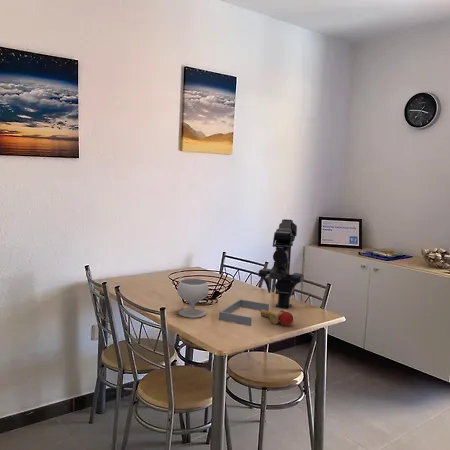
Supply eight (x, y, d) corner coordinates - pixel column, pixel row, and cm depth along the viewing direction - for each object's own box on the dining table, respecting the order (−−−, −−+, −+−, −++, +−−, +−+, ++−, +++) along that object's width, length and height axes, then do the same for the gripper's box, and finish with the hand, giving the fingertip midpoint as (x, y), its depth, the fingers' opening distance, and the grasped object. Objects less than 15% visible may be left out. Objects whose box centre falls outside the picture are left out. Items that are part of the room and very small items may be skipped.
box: (239, 306, 223) (239, 299, 222) (268, 311, 217) (269, 304, 217) (218, 319, 201) (219, 312, 201) (250, 325, 196) (251, 317, 195)
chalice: (207, 309, 215) (208, 278, 213) (207, 319, 201) (209, 286, 199) (177, 308, 214) (178, 277, 212) (175, 318, 200) (176, 284, 199)
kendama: (255, 320, 207) (283, 326, 193) (256, 306, 208) (285, 311, 194) (267, 320, 212) (296, 326, 198) (269, 306, 213) (298, 312, 199)
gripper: (254, 259, 194) (252, 295, 196) (297, 265, 186) (294, 303, 188) (264, 255, 204) (262, 289, 206) (305, 260, 196) (302, 296, 198)
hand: (279, 294), depth 199 cm, fingers open, 9 cm apart
